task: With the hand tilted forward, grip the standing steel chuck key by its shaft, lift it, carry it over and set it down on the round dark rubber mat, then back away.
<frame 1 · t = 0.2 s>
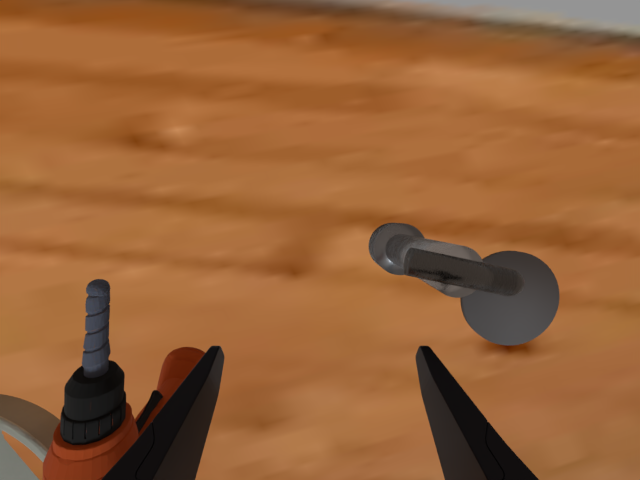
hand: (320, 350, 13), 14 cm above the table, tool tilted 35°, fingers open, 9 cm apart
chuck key: (391, 245, 27), on the table
toy drill: (194, 338, 28), on the table
mat: (507, 297, 27), on the table
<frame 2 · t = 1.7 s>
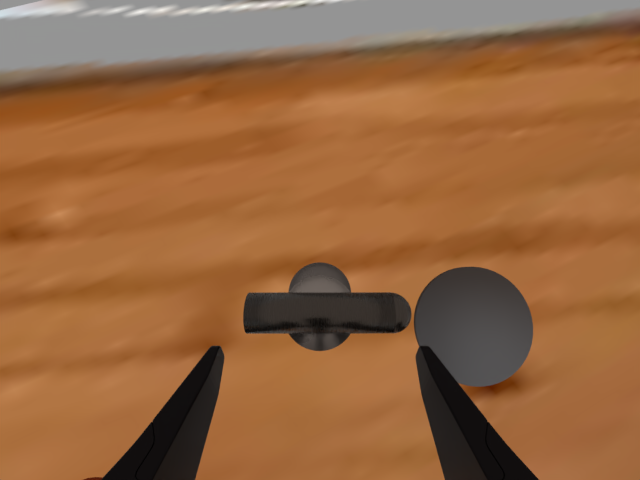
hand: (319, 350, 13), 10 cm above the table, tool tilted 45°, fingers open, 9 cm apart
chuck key: (319, 291, 23), on the table
toy drill: (98, 464, 22), on the table
mat: (470, 323, 23), on the table
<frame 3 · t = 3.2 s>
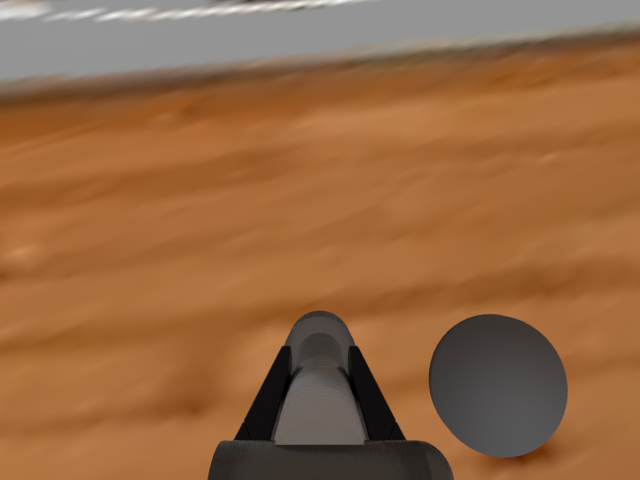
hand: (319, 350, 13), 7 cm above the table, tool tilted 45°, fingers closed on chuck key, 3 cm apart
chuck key: (319, 342, 20), on the table, touching gripper
mat: (494, 381, 20), on the table
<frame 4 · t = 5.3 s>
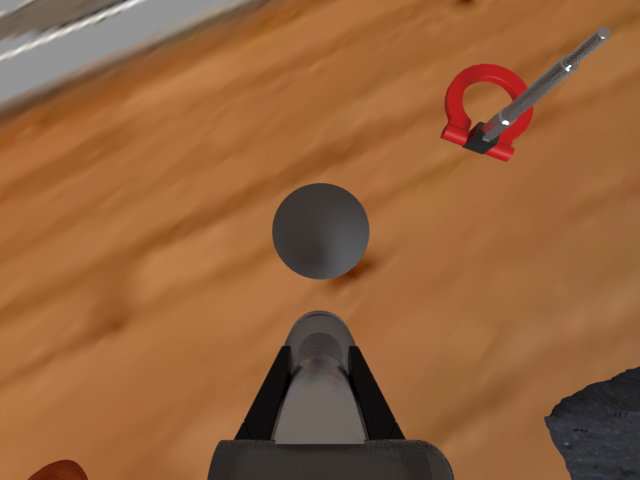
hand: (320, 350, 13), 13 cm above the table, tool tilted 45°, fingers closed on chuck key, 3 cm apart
tow hook: (482, 113, 29), on the table
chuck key: (319, 342, 20), point 6 cm above the table, touching gripper
toy drill: (54, 451, 25), on the table
mat: (320, 231, 27), on the table
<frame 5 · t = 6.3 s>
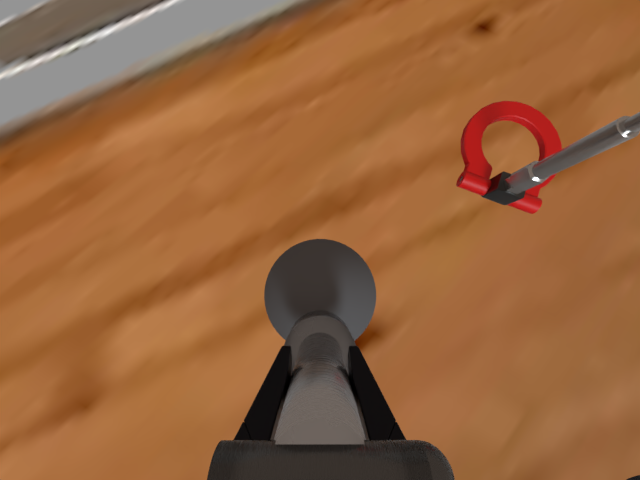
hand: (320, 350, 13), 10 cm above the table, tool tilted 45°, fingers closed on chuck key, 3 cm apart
tow hook: (503, 156, 25), on the table
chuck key: (319, 342, 20), point 3 cm above the table, touching gripper
mat: (320, 293, 24), on the table
when the fingers open (8 cm above the table, at t = 7.2 s): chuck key stays where it is, resting on mat.
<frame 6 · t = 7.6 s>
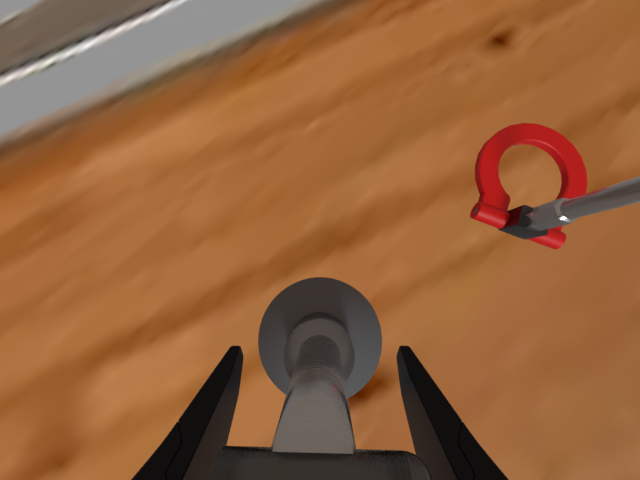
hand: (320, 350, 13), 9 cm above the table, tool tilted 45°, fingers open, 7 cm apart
tow hook: (521, 183, 23), on the table
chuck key: (319, 343, 21), point 1 cm above the table, touching mat
mat: (320, 337, 21), on the table
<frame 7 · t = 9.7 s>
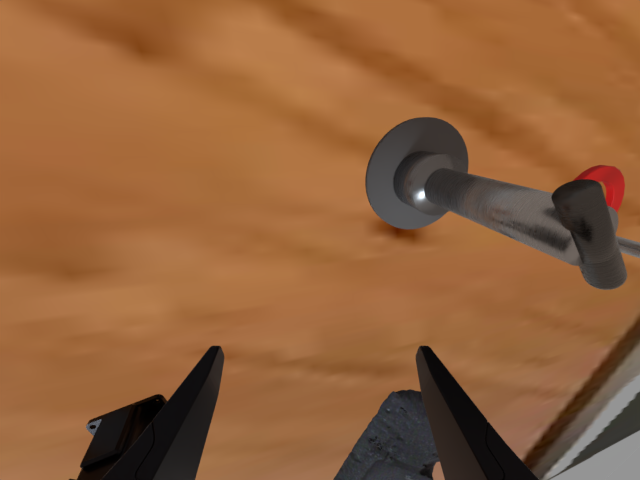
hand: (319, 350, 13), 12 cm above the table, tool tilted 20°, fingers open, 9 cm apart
tow hook: (577, 206, 30), on the table
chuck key: (418, 178, 23), point 1 cm above the table, touching mat
mat: (415, 176, 24), on the table
cast iron trivet: (396, 445, 39), on the table
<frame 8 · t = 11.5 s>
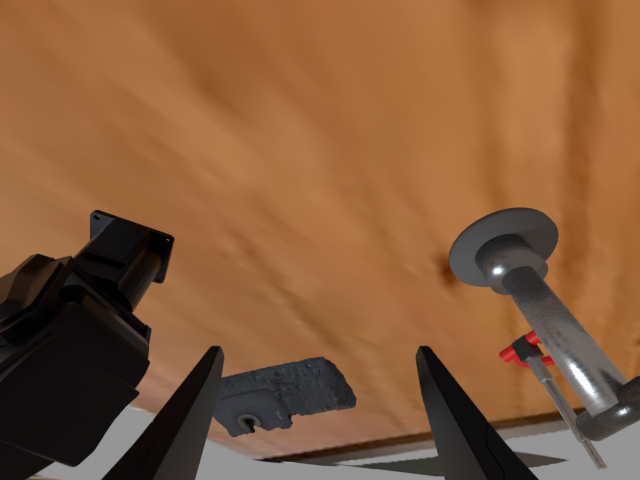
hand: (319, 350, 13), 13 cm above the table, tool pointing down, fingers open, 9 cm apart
tow hook: (542, 343, 37), on the table
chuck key: (500, 253, 26), point 1 cm above the table, touching mat
mat: (499, 249, 26), on the table
cast iron trivet: (283, 386, 45), on the table
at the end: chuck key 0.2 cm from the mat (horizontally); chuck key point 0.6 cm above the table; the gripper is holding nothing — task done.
